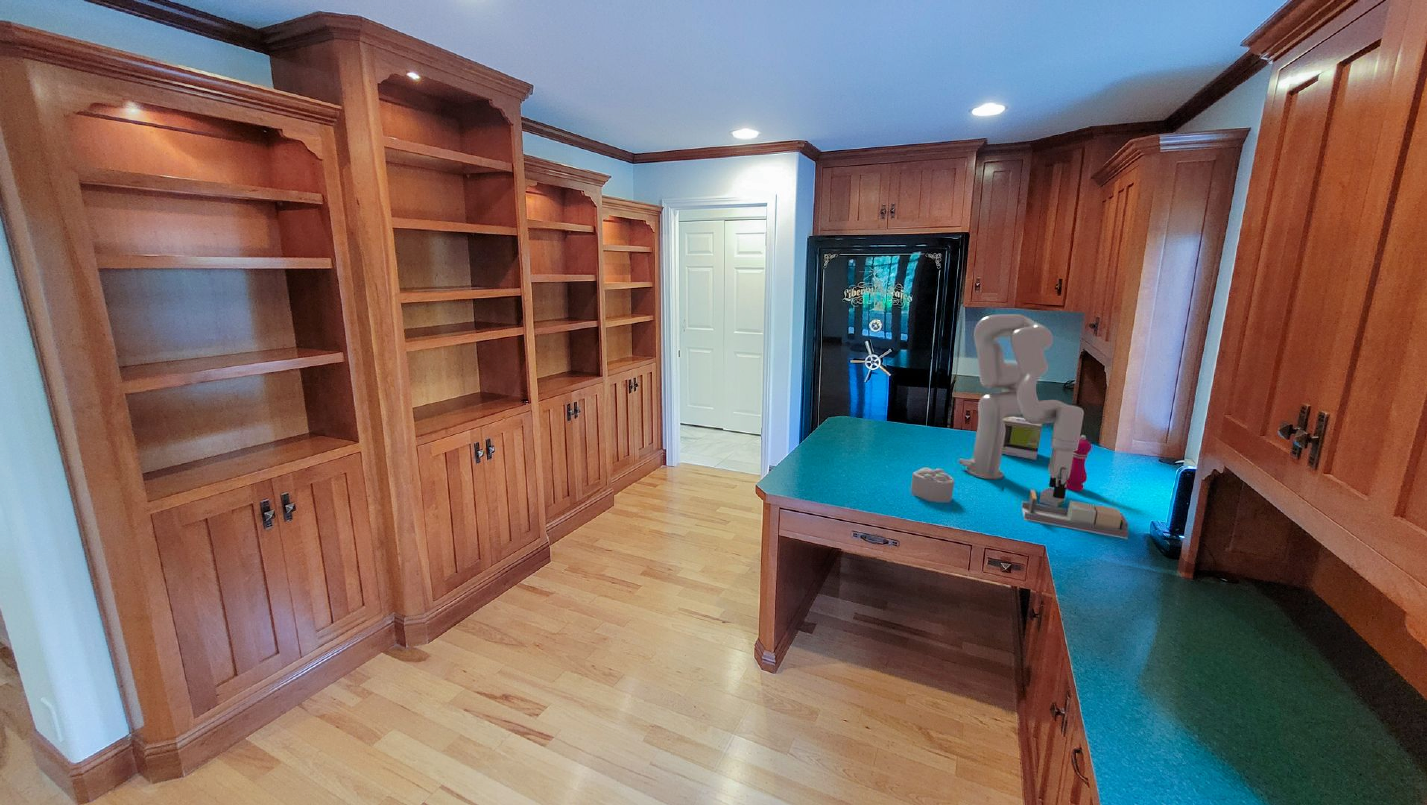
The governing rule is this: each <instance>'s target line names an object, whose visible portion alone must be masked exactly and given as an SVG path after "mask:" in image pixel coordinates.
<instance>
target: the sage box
mask: <svg viewBox="0 0 1427 805" xmlns="http://www.w3.org/2000/svg"><path fill="white" fill-rule="evenodd" d="M1067 509H1068V512H1067V519H1068V520H1072V521H1078V522H1083V523H1089V524H1094V520H1095V516H1096V511H1095V509H1094V504H1091V503H1085V502H1081V501H1076V500H1075V501H1074V500H1069V504H1068V508H1067Z"/></svg>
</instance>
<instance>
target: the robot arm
mask: <svg viewBox="0 0 1427 805" xmlns="http://www.w3.org/2000/svg"><path fill="white" fill-rule="evenodd" d="M1006 338H1007V339H1009V341H1010V345H1011V349H1012V352H1013V354H1014V357H1015V358H1014V359H1015V360H1016V363H1015V362H1008V361H1007V362H1005V360H1004V359H1005V358H1004V351H1003V349H1002V346H1001V344H1000V342H998V339H1006ZM973 340H974V341H973V342H974V344H975V347H976V348H975V349H976V353H977V354H976V355H977V362H978V363H977V364H978V365H977V366H978V372H979V374H978V376H979V381H980V384H981V386H982V388H985V389H988V390H997V389H998V390H999V389H1001V391H998V392H990V393H986V394H985V395H983V396H981V397H980V399H979V400H978V403H977V404H978V405H977V412H978V415H977V416H978V421H977V429H976V435H975V440H974V441H975V442H974V448H973V453H972V457H971V458H970V459H964V458H959V460H958V464H961V465H962V467H963V466H964V467H966V472H967V473H968V474H969V475H971V476H974V477H977V478H980V479H985V480H1000V479H1002V478H1003V476H1004V472H1003V471H1002V470H1000V467H1001V462H1002V461H1001V460H1002V455H1003V454H1002V450H1003V444H1004V439H1005V432H1006V428H1005V424H1004V421H1003V418H1006V417H1020V416H1022V418H1024V419H1025V420H1026V421H1027V422H1029V423H1031V424H1042V423H1043V424H1050V423H1054V424H1053V429H1052V435H1051V441H1050V447H1051V448H1052V450H1051V454H1050V458H1049V463H1048V468H1047V469H1048V473H1049V483H1048V486H1049V487H1048V488H1052V489H1054V492H1053V497H1054V498H1061V499H1064V498H1065V499H1066V496H1065V493H1066V491H1067V489H1066V480H1068V479H1069V476H1070V471H1071V465H1072V458H1073V451H1077V450H1078V444H1079V439H1080V437H1081V432H1082V426H1083V421H1084V414H1085V412H1084V409H1083V408H1082V407H1080V406H1077V405H1072V404H1070V405H1069V404H1067V403H1065V402H1063V401H1060V400H1058V399H1048V400H1044V399H1043V400H1039V398H1038V394H1037V382H1038V381H1039V379H1040V378H1041V377H1042V376H1043V375H1044V374H1045V373H1047V372H1048V370H1049V365H1048V362H1047V359H1046V357H1045V353H1044V351H1046V350H1048V349H1050V347H1051V346H1052V345H1053V341H1054V337H1053V333H1052V332H1051V331H1050V330H1049V329H1048V328H1047V327H1046V326H1045V325H1043V324H1041V323H1039V322H1036V321H1035V320H1033V319H1031V318H1030V317H1027V316H1025V315H1022V314H1015V313H1012V314H1011V313H1009V314H1006V313H1005V314H1003V313H1002V314H999V313H998V314H991V315H987V316H985V317H983V318H982V319H980V320H979V321H978V322H977V324H976V325H975V327H974V331H973ZM1043 424H1042V425H1043Z"/></svg>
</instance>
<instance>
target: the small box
mask: <svg viewBox="0 0 1427 805" xmlns="http://www.w3.org/2000/svg"><path fill="white" fill-rule="evenodd" d="M1053 492H1054V488H1053V487H1048V488H1045V489H1044V490H1042V491H1041V492H1040V497H1039V502H1040V503H1043V504H1044V505H1047V506H1052V507H1058V508H1059V507H1060V506H1062V505H1064V504H1065V500H1066V497H1067V496H1066V495H1067V493H1066V492H1065V498H1064V499H1061V498H1054V497H1053Z"/></svg>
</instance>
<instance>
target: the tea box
mask: <svg viewBox="0 0 1427 805" xmlns="http://www.w3.org/2000/svg"><path fill="white" fill-rule="evenodd" d="M1003 421H1004V424H1005V428H1006V432H1005V439H1004V444H1003V450H1002V455H1008V456H1014V457H1019V458H1023V459H1024V458H1025V459H1030V460H1034V461H1036V460H1037V457H1038V452H1039V447H1040V442H1041V435H1042V428H1043V424H1044V423H1042V424H1031V423H1029V422H1027V421H1026V420H1025V419H1024V417H1021V416H1014V417H1006V418H1003Z"/></svg>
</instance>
